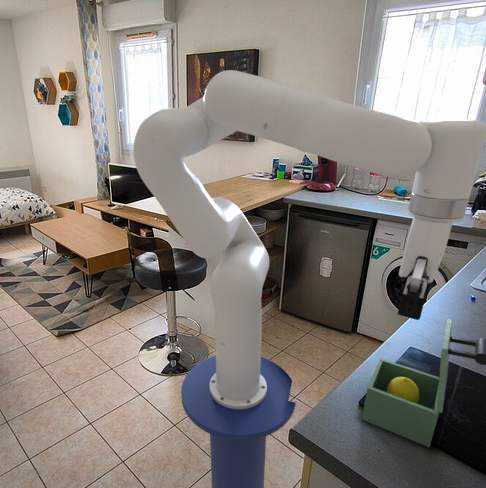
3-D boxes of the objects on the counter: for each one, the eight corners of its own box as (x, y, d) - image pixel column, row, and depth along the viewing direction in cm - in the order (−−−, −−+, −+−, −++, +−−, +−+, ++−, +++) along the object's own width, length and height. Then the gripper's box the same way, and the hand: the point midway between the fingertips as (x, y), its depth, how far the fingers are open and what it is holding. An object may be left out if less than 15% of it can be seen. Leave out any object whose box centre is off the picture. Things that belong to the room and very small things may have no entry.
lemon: (417, 425, 67) (425, 391, 64) (384, 418, 69) (391, 385, 66) (412, 404, 72) (420, 371, 69) (382, 398, 74) (388, 366, 71)
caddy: (361, 419, 70) (367, 388, 67) (374, 387, 78) (379, 357, 75) (429, 447, 64) (438, 414, 61) (435, 409, 72) (444, 378, 69)
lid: (441, 348, 57) (492, 358, 53) (447, 318, 65) (491, 325, 61) (436, 411, 61) (483, 424, 57) (442, 376, 69) (483, 385, 65)
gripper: (417, 192, 64) (398, 280, 70) (399, 215, 51) (378, 320, 57) (468, 198, 60) (443, 290, 66) (463, 224, 47) (432, 335, 53)
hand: (413, 304), depth 62 cm, fingers open, 9 cm apart
